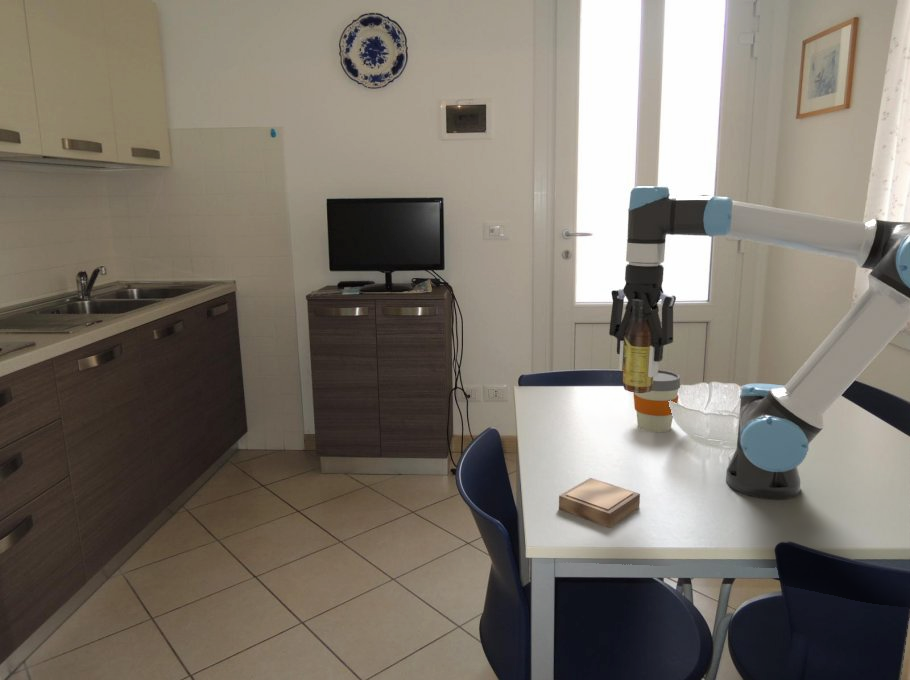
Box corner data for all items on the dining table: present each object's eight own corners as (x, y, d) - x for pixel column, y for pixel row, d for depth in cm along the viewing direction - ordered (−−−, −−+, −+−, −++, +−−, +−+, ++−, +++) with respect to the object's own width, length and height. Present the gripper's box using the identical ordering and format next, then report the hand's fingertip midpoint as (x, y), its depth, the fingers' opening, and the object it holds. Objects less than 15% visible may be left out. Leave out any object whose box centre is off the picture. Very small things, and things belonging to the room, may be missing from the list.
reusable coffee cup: (687, 430, 185) (690, 377, 182) (652, 437, 180) (654, 383, 176) (655, 416, 196) (658, 367, 193) (621, 423, 191) (623, 372, 187)
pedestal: (639, 506, 140) (640, 492, 140) (609, 527, 132) (609, 512, 131) (590, 490, 148) (590, 476, 148) (558, 508, 140) (559, 494, 139)
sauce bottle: (630, 384, 147) (635, 294, 143) (657, 389, 143) (663, 297, 139) (616, 390, 142) (621, 298, 138) (643, 396, 138) (649, 301, 134)
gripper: (698, 265, 133) (689, 378, 138) (614, 258, 146) (608, 361, 151) (679, 269, 127) (671, 385, 133) (594, 261, 141) (589, 367, 146)
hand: (638, 372), depth 142 cm, fingers closed on sauce bottle, 6 cm apart
